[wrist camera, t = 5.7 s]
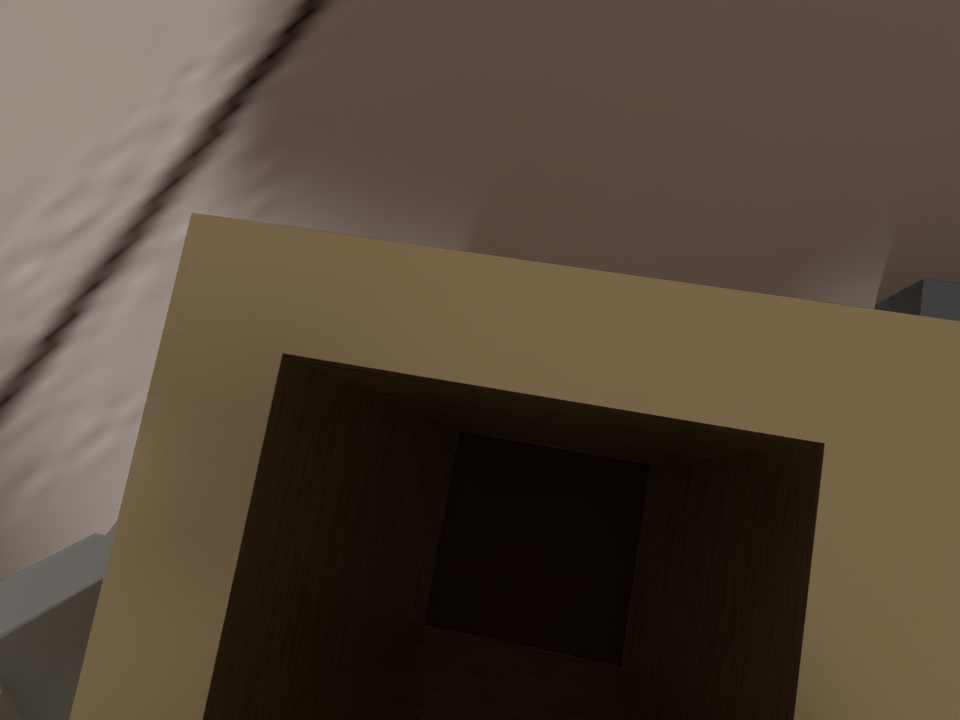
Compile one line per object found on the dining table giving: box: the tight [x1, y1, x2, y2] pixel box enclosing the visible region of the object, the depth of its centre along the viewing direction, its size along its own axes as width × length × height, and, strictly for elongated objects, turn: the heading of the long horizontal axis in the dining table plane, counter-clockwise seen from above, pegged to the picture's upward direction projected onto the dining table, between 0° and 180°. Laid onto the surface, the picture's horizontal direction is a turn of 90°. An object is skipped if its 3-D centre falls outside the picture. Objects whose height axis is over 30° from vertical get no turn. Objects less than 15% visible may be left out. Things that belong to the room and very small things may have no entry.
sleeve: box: [69, 213, 960, 720], centre depth 10 cm, size 6×6×10 cm
